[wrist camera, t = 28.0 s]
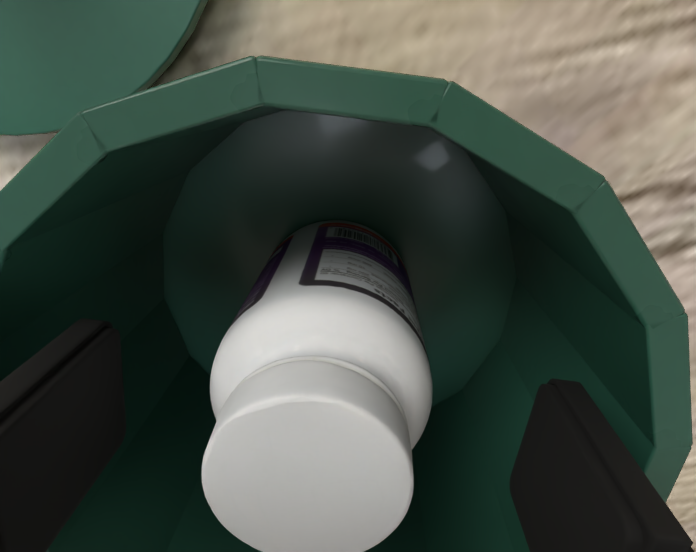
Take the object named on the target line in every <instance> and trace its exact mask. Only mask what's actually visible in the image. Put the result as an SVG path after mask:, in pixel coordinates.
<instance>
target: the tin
mask: <svg viewBox="0 0 696 552" xmlns="http://www.w3.org/2000/svg"><path fill="white" fill-rule="evenodd" d="M329 220H342V221H349V222H354V223H358V224H361V225H363V226H366V227H368V228H370V229H372V230H374V231H375V232H377V233H378V234H380V235H381V236H382V237H384V238H385V239H386V240H387V241H388V242H389V243H390V244H391V245H392V246H393V247H394V249H395V250H396V251H397V253H398V254H399V256H400V257H401V259H402V261H403V263H404V266H405V268H406V271H407V274H408V277H409V281H410V285H411V290H412V294H413V298H414V302H415V306H416V311H417V315H418V319H419V324H420V328H421V332H422V336H423V339H424V344H425V348H426V351H427V355H428V359H429V364H430V371H431V377H432V384H433V393H432V406H431V411H430V415H429V419H428V421H427V424H426V426H425V429H424V431H423V433H422V435H421V437H420V439H419V440H418V442H417V443H416V445H415V446H414V448H413V449H412V463H413V474H414V489H413V495H412V499H411V503H410V505H409V508H408V511H407V513H406V515H405V517H404V518H403V520H402V521H401V523H400V524H399V525H398V527H397V528H396V529H395V530H394V531H393V532H392V533H391V534H390V535H389V536H388V537H387V538H385V539H384V540H383V541H381V542H380V543H379V544H377V545H375V546H374V547H372V548H370V549H368V550H366V551H364V552H530V550H529V547H528V544H527V541H526V538H525V535H524V532H523V529H522V526H521V523H520V521H519V518H518V515H517V512H516V509H515V506H514V503H513V500H512V497H511V493H510V484H509V483H510V476H511V473H512V470H513V466H514V463H515V460H516V457H517V454H518V451H519V448H520V445H521V441H522V438H523V435H524V432H525V429H526V426H527V423H528V419H529V416H530V413H531V410H532V407H533V404H534V401H535V398H536V394H537V391H538V389H539V386H540V385H541V384H547V382H548V381H549V380H550V379H552V378H554V379H561V380H569V381H577V382H580V383H581V384H582V385H583V387H584V388H585V390H586V391H587V393H588V394H589V395H590V397H591V398H592V400H593V401H594V402H595V404H596V405H597V407H598V408H599V410H600V411H601V412H602V414H603V415H604V417H605V418H606V420H607V421H608V422H609V424H610V425H611V427H612V428H613V430H614V431H615V432H616V434H617V435H618V437H619V438H620V439H621V441H622V442H623V444H624V445H625V447H626V448H627V449H628V451H629V452H630V454H631V455H632V457H633V458H634V459H635V461H636V462H637V464H638V465H639V467H640V468H641V469H642V471H643V472H644V474H645V475H646V476H647V478H648V479H649V481H650V482H651V484H652V485H653V486H654V488H655V489H656V491H657V492H658V494H659V495H660V496H661V498H662V499H663V501H664V502H665V503H666V501H667V499H668V497H669V494H670V492H671V490H672V488H673V486H674V484H675V482H676V480H677V478H678V475H679V473H680V471H681V469H682V467H683V465H684V463H685V461H686V459H687V456H688V454H689V452H690V450H691V445H692V418H691V391H690V364H689V337H688V316H687V314H686V313H685V310H684V307H683V306H682V304H681V302H680V301H679V299H678V297H677V296H676V294H675V292H674V291H673V289H672V287H671V286H670V284H669V282H668V281H667V279H666V277H665V276H664V274H663V272H662V271H661V269H660V267H659V266H658V264H657V262H656V261H655V259H654V257H653V256H652V254H651V252H650V251H649V249H648V247H647V246H646V244H645V242H644V241H643V239H642V237H641V236H640V234H639V232H638V231H637V229H636V227H635V226H634V224H633V222H632V221H631V219H630V217H629V216H628V214H627V212H626V211H625V209H624V207H623V206H622V204H621V202H620V201H619V199H618V197H617V196H616V194H615V192H614V191H613V189H612V187H611V186H610V184H609V182H608V181H606V180H605V178H604V176H603V175H601V174H600V173H598V172H596V171H595V170H593V169H592V168H590V167H589V166H587V165H585V164H584V163H582V162H581V161H579V160H577V159H576V158H574V157H573V156H571V155H569V154H568V153H566V152H565V151H563V150H561V149H560V148H558V147H557V146H555V145H553V144H552V143H550V142H549V141H547V140H546V139H544V138H542V137H541V136H539V135H538V134H536V133H534V132H533V131H531V130H530V129H528V128H526V127H525V126H523V125H522V124H520V123H518V122H517V121H515V120H514V119H512V118H511V117H509V116H507V115H506V114H504V113H503V112H501V111H499V110H498V109H496V108H495V107H493V106H491V105H490V104H488V103H487V102H485V101H483V100H482V99H480V98H479V97H477V96H475V95H474V94H472V93H471V92H469V91H468V90H466V89H464V88H463V87H461V86H460V85H458V84H456V83H455V82H453V81H446V80H445V79H441V78H433V77H425V76H417V75H409V74H402V73H394V72H386V71H378V70H370V69H363V68H355V67H347V66H339V65H331V64H324V63H316V62H308V61H300V60H292V59H284V58H277V57H269V56H258V57H255V56H249V57H246V58H243V59H240V60H237V61H233V62H230V63H227V64H224V65H221V66H218V67H215V68H212V69H209V70H205V71H202V72H199V73H196V74H193V75H190V76H187V77H184V78H180V79H177V80H174V81H171V82H168V83H165V84H162V85H159V86H156V87H152V88H149V89H146V90H143V91H140V92H137V93H134V94H131V95H127V96H124V97H121V98H118V99H115V100H112V101H109V102H106V103H103V104H99V105H96V106H93V107H90V108H87V109H84V110H83V111H82V112H79V113H77V114H76V115H75V116H74V117H73V118H72V119H71V120H70V121H69V122H68V123H67V124H66V125H65V126H64V127H63V128H62V129H61V130H60V131H59V132H58V133H57V134H56V135H55V136H54V137H53V138H52V139H51V140H50V141H49V142H48V143H47V144H46V145H45V146H44V147H43V148H42V149H41V150H40V151H39V152H38V153H37V154H36V155H35V156H34V157H33V158H32V159H31V160H30V161H29V163H28V164H27V165H26V166H25V167H24V168H23V169H22V170H21V171H20V172H19V173H18V174H17V175H16V176H15V177H14V178H13V179H12V180H11V181H10V182H9V183H8V184H7V185H6V186H5V187H4V188H3V189H2V190H1V191H0V382H1V381H2V380H3V379H5V378H6V377H7V376H8V375H10V374H11V373H12V372H13V371H15V370H16V369H17V368H18V367H20V366H21V365H22V364H23V363H25V362H26V361H27V360H28V359H30V358H31V357H32V356H34V355H35V354H36V353H37V352H39V351H40V350H41V349H42V348H44V347H45V346H46V345H47V344H49V343H50V342H51V341H52V340H54V339H55V338H56V337H57V336H59V335H60V334H61V333H63V332H64V331H65V330H66V329H68V328H69V327H70V326H71V325H73V324H74V323H75V322H76V321H78V320H79V319H81V318H86V319H94V320H101V321H109V322H110V323H111V324H112V326H113V329H117V330H118V331H119V333H120V341H121V356H122V371H123V386H124V400H125V415H126V434H125V437H124V440H123V442H122V444H121V446H120V447H119V448H118V450H117V451H116V453H115V454H114V455H113V457H112V458H111V460H110V461H109V463H108V464H107V465H106V467H105V468H104V470H103V471H102V473H101V474H100V475H99V477H98V478H97V480H96V481H95V483H94V484H93V485H92V487H91V488H90V490H89V491H88V492H87V494H86V495H85V497H84V498H83V500H82V501H81V502H80V504H79V505H78V507H77V508H76V510H75V511H74V512H73V514H72V515H71V517H70V518H69V520H68V521H67V522H66V524H65V525H64V527H63V528H62V530H61V531H60V532H59V534H58V535H57V537H56V538H55V539H54V541H53V542H52V544H51V545H50V547H49V548H48V549H47V551H46V552H262V551H260V550H257V549H255V548H253V547H251V546H250V545H248V544H246V543H244V542H243V541H241V540H240V539H238V538H237V537H235V536H234V535H233V534H232V533H231V532H229V531H228V530H227V529H226V528H225V527H224V526H223V525H222V524H221V523H220V521H219V520H218V519H217V517H216V516H215V515H214V513H213V512H212V509H211V507H210V506H209V504H208V502H207V500H206V497H205V494H204V490H203V486H202V476H201V474H202V462H203V456H204V453H205V450H206V447H207V445H208V442H209V440H210V437H211V434H212V432H213V429H214V427H215V424H216V418H215V415H214V412H213V409H212V403H211V398H210V377H211V370H212V366H213V361H214V359H215V356H216V353H217V350H218V348H219V346H220V343H221V341H222V339H223V337H224V335H225V334H226V332H227V330H228V328H229V327H230V325H231V323H232V322H233V320H234V318H235V317H236V315H237V313H238V312H239V310H240V308H241V306H242V305H243V303H244V301H245V300H246V298H247V296H248V295H249V293H250V291H251V289H252V288H253V286H254V284H255V283H256V281H257V279H258V277H259V275H260V274H261V272H262V270H263V268H264V267H265V265H266V263H267V261H268V260H269V258H270V257H271V255H272V254H273V252H274V251H275V250H276V248H277V247H278V246H279V245H280V244H281V243H282V242H283V241H284V240H285V239H286V238H287V237H288V236H290V235H291V234H293V233H294V232H295V231H297V230H299V229H300V228H303V227H305V226H307V225H310V224H313V223H316V222H321V221H329Z"/></svg>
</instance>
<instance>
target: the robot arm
mask: <svg viewBox="0 0 696 552" xmlns="http://www.w3.org/2000/svg"><path fill="white" fill-rule="evenodd" d="M125 434H126V415H125V400H124V386H123V371H122V356H121V341H120V333H119V331H118V330H117V329H113V326H112V324H111V323H110V322H109V321H101V320H94V319H86V318H81V319H79V320H78V321H76V322H75V323H74V324H73V325H71V326H70V327H69V328H68V329H66V330H65V331H64V332H63V333H61V334H60V335H59V336H57V337H56V338H55V339H54V340H52V341H51V342H50V343H49V344H47V345H46V346H45V347H44V348H42V349H41V350H40V351H39V352H37V353H36V354H35V355H34V356H32V357H31V358H30V359H28V360H27V361H26V362H25V363H23V364H22V365H21V366H20V367H18V368H17V369H16V370H15V371H13V372H12V373H11V374H10V375H8V376H7V377H6V378H5V379H3V380H2V381H1V382H0V552H46V551H47V549H48V548H49V547H50V545H51V544H52V542H53V541H54V539H55V538H56V537H57V535H58V534H59V532H60V531H61V530H62V528H63V527H64V525H65V524H66V522H67V521H68V520H69V518H70V517H71V515H72V514H73V512H74V511H75V510H76V508H77V507H78V505H79V504H80V502H81V501H82V500H83V498H84V497H85V495H86V494H87V492H88V491H89V490H90V488H91V487H92V485H93V484H94V483H95V481H96V480H97V478H98V477H99V475H100V474H101V473H102V471H103V470H104V468H105V467H106V465H107V464H108V463H109V461H110V460H111V458H112V457H113V455H114V454H115V453H116V451H117V450H118V448H119V447H120V446H121V444H122V442H123V440H124V437H125ZM509 484H510V493H511V497H512V500H513V503H514V506H515V509H516V512H517V515H518V518H519V521H520V523H521V526H522V529H523V532H524V535H525V538H526V541H527V544H528V547H529V550H530V552H694V551H693V549H692V548H691V546H692V544H693V542H692V540H691V539H690V538H689V536H688V535H687V533H686V532H685V531H684V529H683V528H682V526H681V525H680V523H679V522H678V521H677V519H676V518H675V516H674V515H673V513H672V512H671V511H670V509H669V508H668V506H667V505H666V503H665V502H664V501H663V499H662V498H661V496H660V495H659V494H658V492H657V491H656V489H655V488H654V486H653V485H652V484H651V482H650V481H649V479H648V478H647V476H646V475H645V474H644V472H643V471H642V469H641V468H640V467H639V465H638V464H637V462H636V461H635V459H634V458H633V457H632V455H631V454H630V452H629V451H628V449H627V448H626V447H625V445H624V444H623V442H622V441H621V439H620V438H619V437H618V435H617V434H616V432H615V431H614V430H613V428H612V427H611V425H610V424H609V422H608V421H607V420H606V418H605V417H604V415H603V414H602V412H601V411H600V410H599V408H598V407H597V405H596V404H595V402H594V401H593V400H592V398H591V397H590V395H589V394H588V393H587V391H586V390H585V388H584V387H583V385H582V384H581V383H580V382H577V381H569V380H561V379H554V378H552V379H550V380H549V381H548V382H547V384H541V385H540V386H539V389H538V391H537V394H536V398H535V401H534V404H533V407H532V410H531V413H530V416H529V419H528V423H527V426H526V429H525V432H524V435H523V438H522V441H521V445H520V448H519V451H518V454H517V457H516V460H515V463H514V466H513V470H512V473H511V476H510V483H509Z"/></svg>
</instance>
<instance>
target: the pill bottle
mask: <svg viewBox="0 0 696 552" xmlns="http://www.w3.org/2000/svg"><path fill="white" fill-rule="evenodd" d="M432 393H433V384H432V377H431V371H430V364H429V359H428V355H427V351H426V348H425V344H424V339H423V336H422V332H421V328H420V324H419V319H418V315H417V311H416V306H415V302H414V298H413V294H412V290H411V285H410V281H409V277H408V274H407V271H406V268H405V266H404V263H403V261H402V259H401V257H400V256H399V254H398V253H397V251H396V250H395V249H394V247H393V246H392V245H391V244H390V243H389V242H388V241H387V240H386V239H385V238H384V237H382V236H381V235H380V234H378V233H377V232H375V231H374V230H372V229H370V228H368V227H366V226H363V225H361V224H358V223H354V222H349V221H342V220H329V221H321V222H316V223H313V224H310V225H307V226H305V227H303V228H300V229H299V230H297V231H295V232H294V233H293V234H291V235H290V236H288V237H287V238H286V239H285V240H284V241H283V242H282V243H281V244H280V245H279V246H278V247H277V248H276V250H275V251H274V252H273V254H272V255H271V257H270V258H269V260H268V261H267V263H266V265H265V267H264V268H263V270H262V272H261V274H260V275H259V277H258V279H257V281H256V283H255V284H254V286H253V288H252V289H251V291H250V293H249V295H248V296H247V298H246V300H245V301H244V303H243V305H242V306H241V308H240V310H239V312H238V313H237V315H236V317H235V318H234V320H233V322H232V323H231V325H230V327H229V328H228V330H227V332H226V334H225V335H224V337H223V339H222V341H221V343H220V346H219V348H218V350H217V353H216V356H215V359H214V361H213V366H212V370H211V377H210V398H211V403H212V409H213V412H214V415H215V418H216V424H215V427H214V429H213V432H212V434H211V437H210V440H209V442H208V445H207V447H206V450H205V453H204V456H203V462H202V474H201V476H202V486H203V490H204V494H205V497H206V500H207V502H208V504H209V506H210V507H211V509H212V512H213V513H214V515H215V516H216V517H217V519H218V520H219V521H220V523H221V524H222V525H223V526H224V527H225V528H226V529H227V530H228V531H229V532H231V533H232V534H233V535H234V536H235V537H237V538H238V539H240V540H241V541H243V542H244V543H246V544H248V545H250V546H251V547H253V548H255V549H257V550H260V551H262V552H364V551H366V550H368V549H370V548H372V547H374V546H375V545H377V544H379V543H380V542H381V541H383V540H384V539H385V538H387V537H388V536H389V535H390V534H391V533H392V532H393V531H394V530H395V529H396V528H397V527H398V525H399V524H400V523H401V521H402V520H403V518H404V517H405V515H406V513H407V511H408V508H409V505H410V503H411V499H412V495H413V489H414V474H413V463H412V449H413V448H414V446H415V445H416V443H417V442H418V440H419V439H420V437H421V435H422V433H423V431H424V429H425V426H426V424H427V421H428V419H429V415H430V411H431V406H432Z"/></svg>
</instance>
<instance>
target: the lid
mask: <svg viewBox="0 0 696 552" xmlns="http://www.w3.org/2000/svg"><path fill="white" fill-rule="evenodd" d="M207 1H208V0H0V135H12V136H20V135H32V134H44V133H53V132H58V131H60V130H61V129H62V128H63V127H64V126H65V125H66V124H67V123H68V122H69V121H70V120H71V119H72V118H73V117H74V116H75V115H76V114H77V113H79V112H82V111H83V110H84V109H87V108H90V107H93V106H96V105H99V104H103V103H106V102H109V101H112V100H115V99H118V98H121V97H124V96H127V95H131V94H134V93H137V92H140V91H143V90H146V89H147V88H148V87H150V86H151V85H152V84H153V83H154V82H156V80H157V79H158V78H159V77H160V76H161V75H162V74H163V72H164V71H165V70H166V69H167V68H168V67H169V66H170V64H171V63H172V62H173V61H174V60H175V59H176V57H177V56H178V54H179V53H180V51H181V50H182V48H183V47H184V45H185V44H186V42H187V40H188V39H189V37H190V36H191V34H192V33H193V31H194V29H195V27H196V25H197V23H198V21H199V18H200V16H201V14H202V12H203V10H204V8H205V6H206V4H207Z"/></svg>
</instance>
